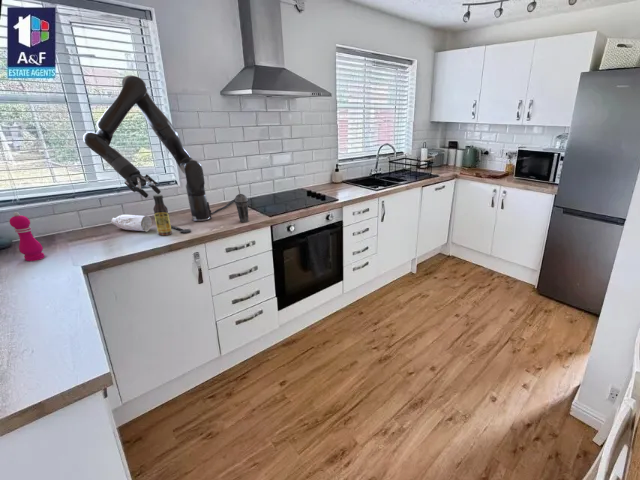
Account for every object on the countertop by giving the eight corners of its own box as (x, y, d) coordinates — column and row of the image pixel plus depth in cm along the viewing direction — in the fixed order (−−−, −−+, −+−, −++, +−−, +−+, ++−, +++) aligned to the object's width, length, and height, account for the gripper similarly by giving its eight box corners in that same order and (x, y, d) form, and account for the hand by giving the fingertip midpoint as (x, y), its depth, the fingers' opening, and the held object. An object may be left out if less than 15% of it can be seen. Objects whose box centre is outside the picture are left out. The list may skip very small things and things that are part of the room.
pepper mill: (28, 263, 151) (7, 215, 142) (21, 259, 155) (0, 212, 146) (49, 257, 157) (30, 211, 148) (42, 254, 160) (23, 208, 151)
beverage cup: (253, 219, 216) (248, 185, 207) (247, 223, 209) (242, 187, 200) (241, 219, 216) (236, 184, 207) (235, 222, 210) (229, 187, 201)
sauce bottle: (158, 236, 185) (148, 197, 176) (158, 233, 190) (149, 194, 181) (173, 235, 187) (163, 196, 179) (173, 231, 192) (164, 193, 184)
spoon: (172, 225, 201) (172, 223, 200) (192, 231, 193) (192, 229, 193) (163, 228, 197) (163, 225, 197) (184, 234, 189) (183, 231, 189)
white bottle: (122, 226, 197) (117, 211, 194) (154, 228, 195) (150, 214, 192) (110, 230, 190) (105, 215, 187) (143, 233, 188) (139, 218, 185)
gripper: (117, 165, 168) (146, 192, 171) (140, 161, 180) (167, 186, 184) (110, 176, 171) (139, 203, 174) (133, 172, 183) (159, 196, 187)
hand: (153, 194), depth 179 cm, fingers open, 8 cm apart
